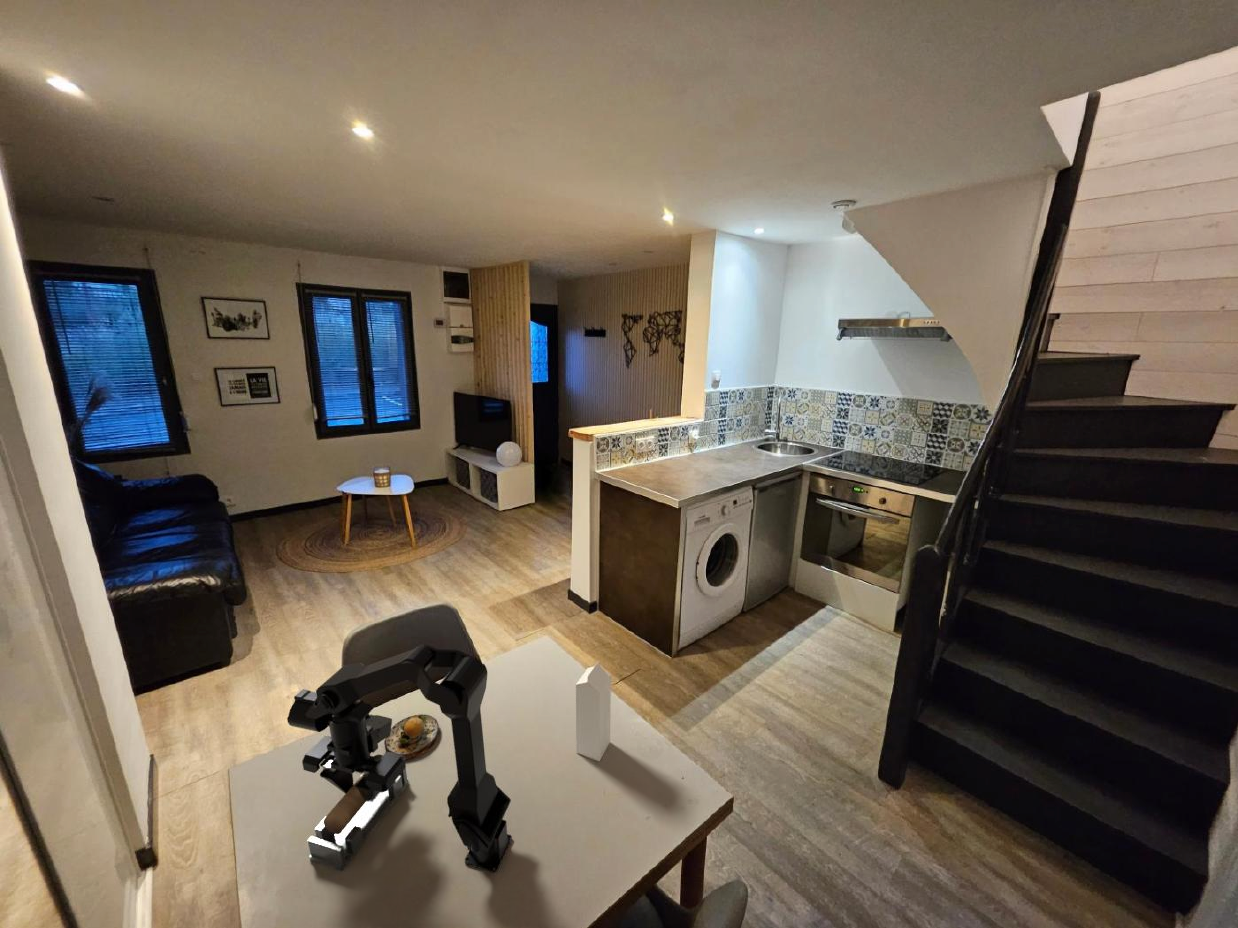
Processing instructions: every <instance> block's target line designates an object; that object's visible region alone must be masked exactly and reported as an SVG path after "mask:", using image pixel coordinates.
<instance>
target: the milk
mask: <svg viewBox="0 0 1238 928" xmlns="http://www.w3.org/2000/svg"><path fill="white" fill-rule="evenodd" d="M611 694H612V675H611V674H610V673H609V672H608V671H607V670H605V668H603V667H602V666H601V664H600V660H598V661H597V662H596V664H594V666H591V667H587V668H586V670H585V671H584V673H583V674H582V676H581V677H580V678H579V680H578V681H577V682H576V684H575V728H576V729H575V730H576V731H575V733H576V734H575V742H576V745H575V746H576V747H575V748H576V751H575V752H576V753H577V754H579V755H582V756H584V757H587V758H589V759H591V760H594V761H597V762H601V759H602V758H603V755H604V754H605V752H606V750H607V748H608V746H609V745H610V743H611V711H612V710H611V703H612V702H611V701H612V700H611V699H612V698H611V697H612V695H611Z"/></svg>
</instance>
